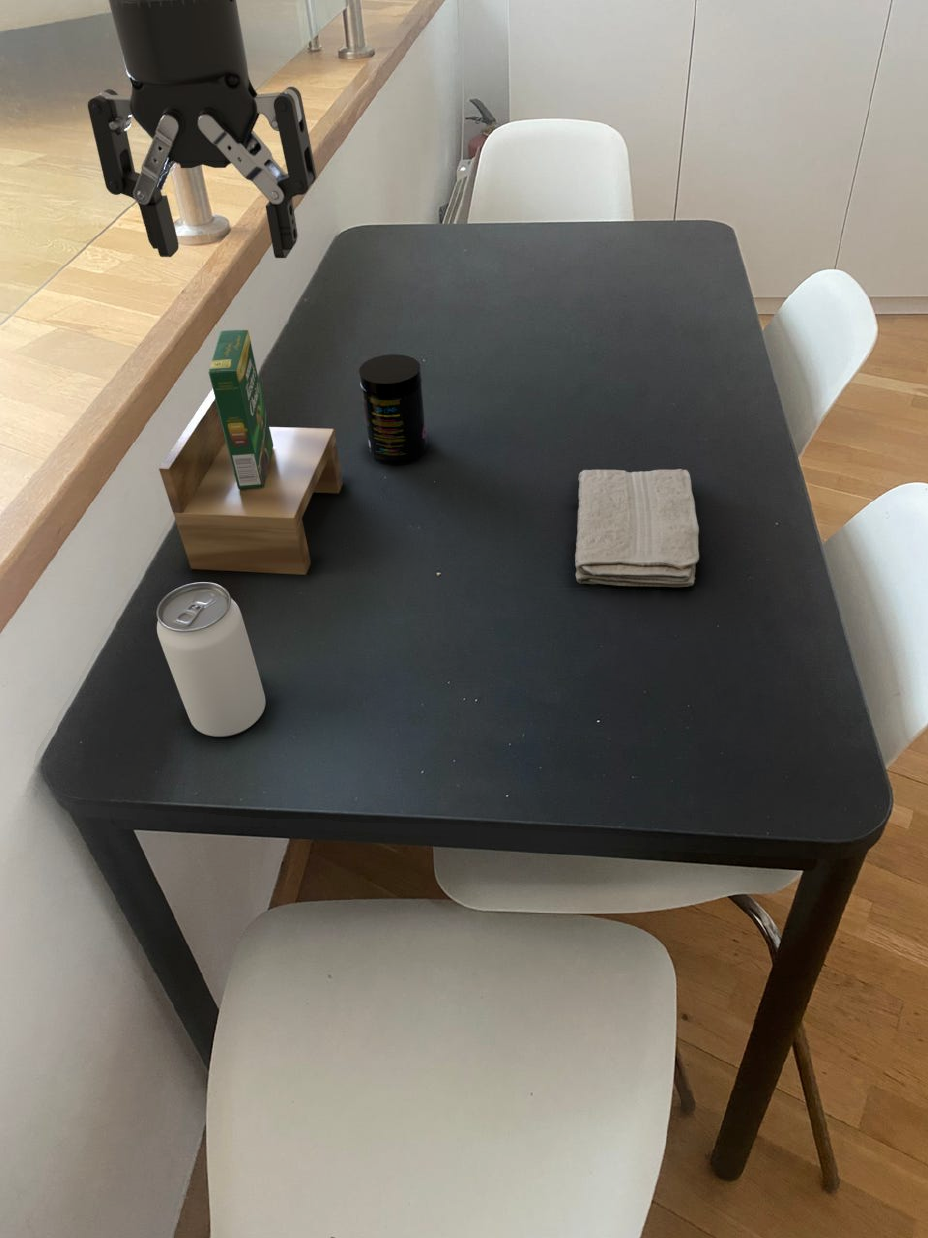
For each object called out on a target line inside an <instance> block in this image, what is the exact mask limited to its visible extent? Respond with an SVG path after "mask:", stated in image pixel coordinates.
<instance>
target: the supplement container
mask: <svg viewBox="0 0 928 1238" xmlns="http://www.w3.org/2000/svg"><path fill="white" fill-rule="evenodd" d="M358 373H359V383H360V389H361V394H362V401H363V409H364V416H365V417H364V418H365V425H366V432H367V439H368V446H369V447H368V448H369V451H370V453H371V455H372V456H373V458H375V459H376V460H377V461H379V462H381V463H384V464H388V465H404V464H407V463H411V462H414V461H416V460H417V459H418V458H420V457H421V456H422V455H423V454H424V453H425V451H426V449H427V445H428V444H427V432H426V431H427V430H426V422H425V410H424V409H425V408H424V407H425V406H424V398H423V396H424V395H423V387H422V386H423V385H422V382H423V379H422V370H421V364H420V362H419V361H418V360H417V359H416V358H414V357H412V356H409V355H405V354H398V353H391V354H382V355H378V356H373V357H371V358H370V359H367V360H366V361H364V362H363V363H361V365H360V367H359V369H358Z"/></svg>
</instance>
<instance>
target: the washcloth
mask: <svg viewBox="0 0 928 1238" xmlns="http://www.w3.org/2000/svg"><path fill="white" fill-rule="evenodd" d="M577 480H578V482H579V484H578V486H579V487H578V491H577V493H578V500H579V501H578V509H577V524H576V528H577V533H576V542H575V545H576V546H575V547H576V549H575V554H574V558H575V560H574V562H575V563H574V564H575V568H576V572H575V578H576V582H577V583H578V584H582V585H583V584H587V585H598V584H599V585H606V586H607V585H608V586H617V587H653V588H655V587H657V588H661V587H663V588H683V587H684V588H685V587H692V586H694V585H695V581H696V577H695V575H696V570H697V569H696V564H697V563H698V562H699V560H700V551H699V532H700V527H699V523H698V518H697V513H696V511H697V510H696V502H695V501H696V500H695V497H694V495H693V489H692V488H693V487H692V479H691V474H690V472H689V471H688V469H682V468H678V469H665V468H664V469H654V470H650V471H649V470H646V471H641V470H640V471H631V472H628V471H627V470H624V469H622V470H621V469H583V470H582V471H580V472H579V474H578V478H577Z"/></svg>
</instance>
